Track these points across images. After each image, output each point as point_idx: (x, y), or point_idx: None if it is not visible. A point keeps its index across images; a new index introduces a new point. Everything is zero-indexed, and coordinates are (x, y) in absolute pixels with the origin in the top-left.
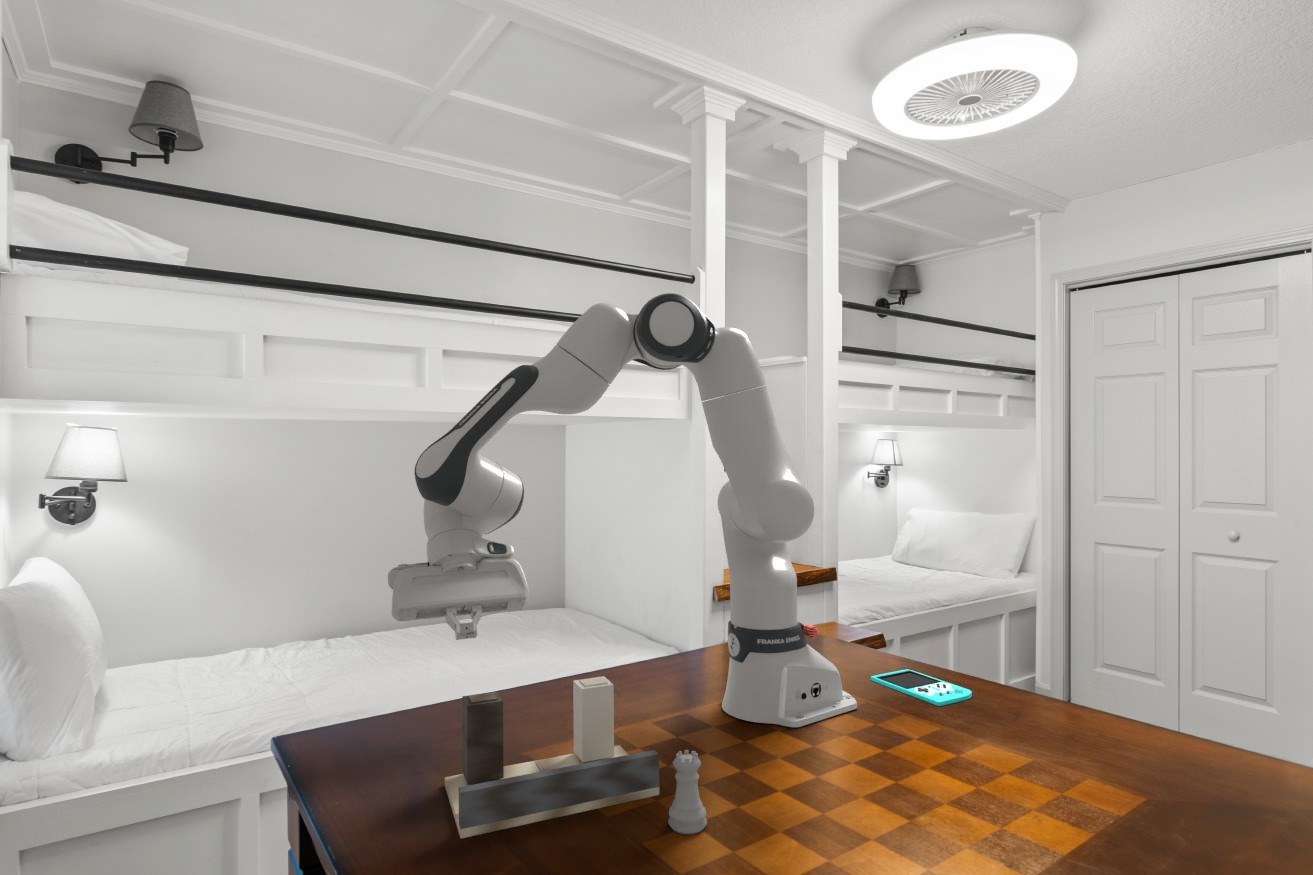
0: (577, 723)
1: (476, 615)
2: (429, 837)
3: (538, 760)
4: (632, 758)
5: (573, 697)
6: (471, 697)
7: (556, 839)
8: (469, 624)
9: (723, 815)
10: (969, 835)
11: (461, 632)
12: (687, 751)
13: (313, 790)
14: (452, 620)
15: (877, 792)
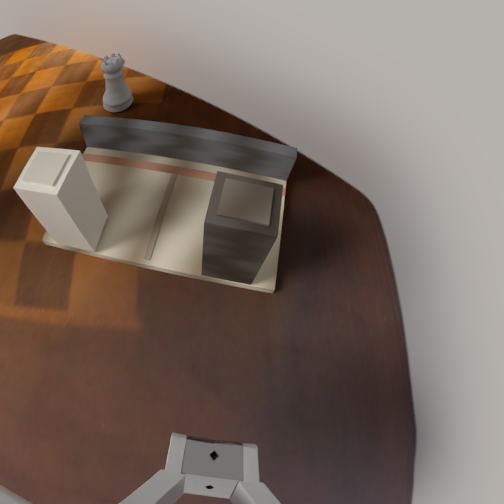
0: (87, 211)
1: (153, 494)
2: (309, 194)
3: (143, 262)
4: (109, 117)
5: (68, 211)
6: (266, 209)
7: None
8: (197, 468)
9: (89, 104)
10: (38, 58)
11: (238, 444)
12: (104, 62)
13: (403, 363)
14: (275, 497)
15: (11, 94)
